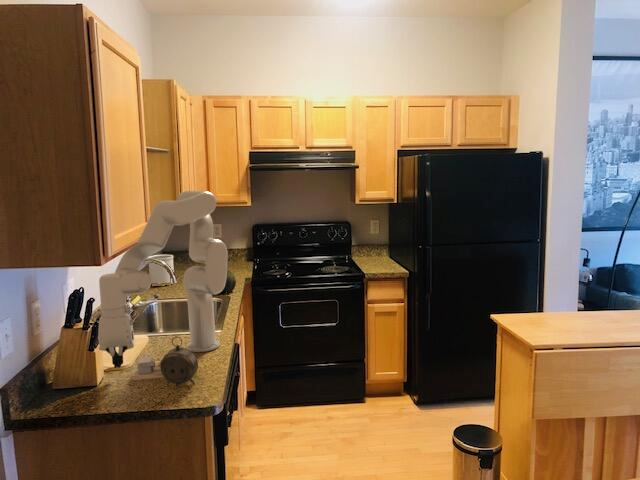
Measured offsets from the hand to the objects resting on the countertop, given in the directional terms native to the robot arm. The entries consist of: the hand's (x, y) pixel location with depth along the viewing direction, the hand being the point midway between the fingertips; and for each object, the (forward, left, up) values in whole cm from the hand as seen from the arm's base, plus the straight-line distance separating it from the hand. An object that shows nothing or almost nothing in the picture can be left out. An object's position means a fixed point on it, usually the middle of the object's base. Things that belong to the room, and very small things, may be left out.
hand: (118, 366), depth 152 cm
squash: (-107, +30, -5) cm, 112 cm away
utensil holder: (-137, -7, -5) cm, 137 cm away
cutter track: (0, +12, -5) cm, 13 cm away
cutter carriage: (0, +9, -3) cm, 9 cm away
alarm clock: (+10, +20, -5) cm, 23 cm away
